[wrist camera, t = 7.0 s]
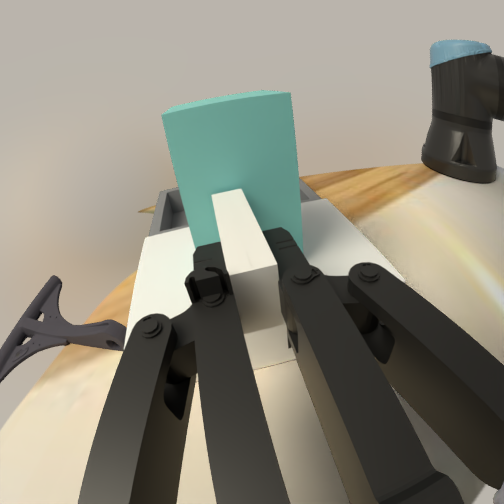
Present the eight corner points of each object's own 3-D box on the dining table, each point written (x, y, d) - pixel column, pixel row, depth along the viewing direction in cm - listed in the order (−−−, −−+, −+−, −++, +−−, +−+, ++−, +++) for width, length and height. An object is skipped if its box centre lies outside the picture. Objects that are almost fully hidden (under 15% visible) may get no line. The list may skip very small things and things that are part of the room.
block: (278, 220, 22) (262, 90, 17) (303, 264, 17) (290, 92, 12) (202, 236, 22) (171, 106, 16) (206, 286, 17) (161, 114, 11)
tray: (287, 190, 37) (285, 165, 35) (324, 234, 27) (323, 201, 25) (167, 216, 36) (159, 191, 34) (159, 271, 26) (147, 239, 24)
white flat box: (326, 236, 27) (325, 198, 25) (393, 326, 17) (406, 280, 15) (159, 274, 26) (145, 237, 23) (152, 388, 16) (123, 350, 13)
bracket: (103, 435, 13) (79, 416, 12) (-7, 384, 16) (-25, 365, 14) (164, 288, 25) (154, 263, 24) (56, 287, 27) (45, 268, 26)
